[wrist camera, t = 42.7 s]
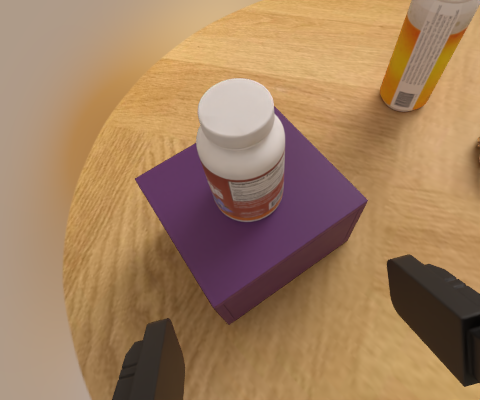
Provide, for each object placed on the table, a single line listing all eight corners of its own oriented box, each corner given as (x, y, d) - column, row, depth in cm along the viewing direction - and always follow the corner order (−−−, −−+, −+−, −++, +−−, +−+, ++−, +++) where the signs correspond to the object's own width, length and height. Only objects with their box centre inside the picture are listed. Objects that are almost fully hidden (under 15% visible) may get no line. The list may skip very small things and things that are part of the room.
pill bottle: (210, 170, 32) (180, 78, 22) (274, 157, 32) (273, 60, 22) (219, 231, 29) (189, 156, 19) (290, 217, 29) (297, 134, 19)
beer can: (426, 83, 47) (485, -34, 33) (426, 117, 44) (490, 5, 31) (379, 78, 48) (419, -37, 35) (376, 111, 45) (418, 1, 32)
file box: (167, 225, 41) (141, 188, 33) (274, 158, 43) (273, 110, 36) (228, 325, 35) (215, 310, 27) (347, 240, 38) (366, 204, 30)
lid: (137, 182, 33) (134, 178, 32) (268, 105, 36) (268, 100, 35) (215, 309, 27) (213, 308, 26) (366, 204, 30) (368, 200, 29)
